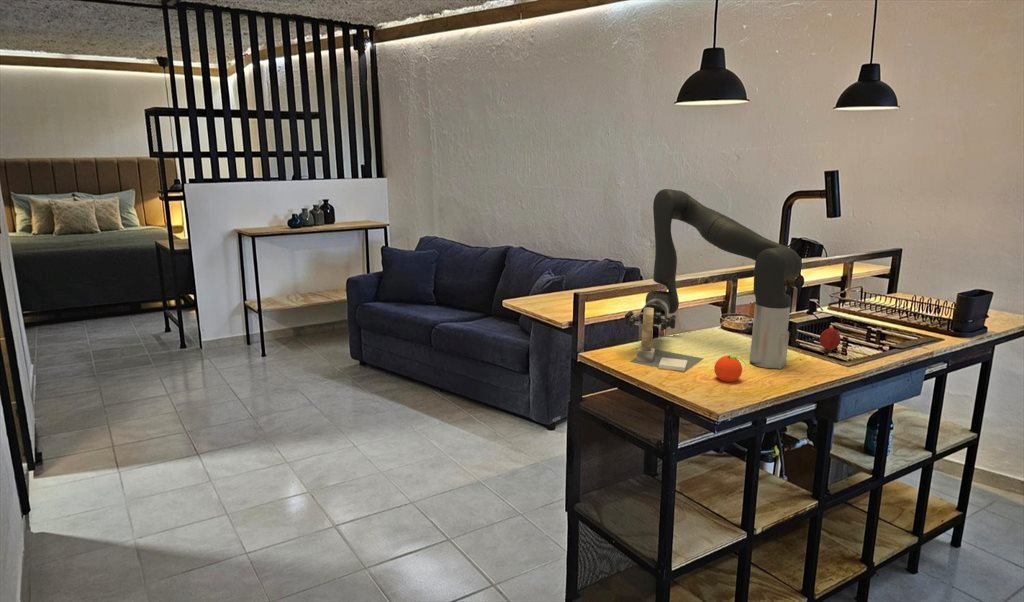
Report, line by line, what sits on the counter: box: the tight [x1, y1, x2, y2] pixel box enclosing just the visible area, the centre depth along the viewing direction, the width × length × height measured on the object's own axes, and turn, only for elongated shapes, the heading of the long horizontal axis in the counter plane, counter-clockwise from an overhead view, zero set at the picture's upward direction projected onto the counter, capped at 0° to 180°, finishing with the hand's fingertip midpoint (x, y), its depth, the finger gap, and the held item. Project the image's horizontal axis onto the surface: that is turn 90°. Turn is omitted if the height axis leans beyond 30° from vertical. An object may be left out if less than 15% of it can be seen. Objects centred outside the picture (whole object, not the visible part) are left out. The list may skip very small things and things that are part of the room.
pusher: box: [636, 307, 656, 363], centre depth 189 cm, size 4×4×15 cm
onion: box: [819, 325, 841, 351], centre depth 203 cm, size 6×6×8 cm
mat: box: [629, 348, 705, 374], centre depth 191 cm, size 16×16×1 cm
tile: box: [658, 357, 687, 373], centre depth 185 cm, size 7×1×7 cm
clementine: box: [713, 355, 746, 383], centre depth 174 cm, size 8×7×7 cm
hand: (646, 325), depth 187 cm, fingers open, 8 cm apart
